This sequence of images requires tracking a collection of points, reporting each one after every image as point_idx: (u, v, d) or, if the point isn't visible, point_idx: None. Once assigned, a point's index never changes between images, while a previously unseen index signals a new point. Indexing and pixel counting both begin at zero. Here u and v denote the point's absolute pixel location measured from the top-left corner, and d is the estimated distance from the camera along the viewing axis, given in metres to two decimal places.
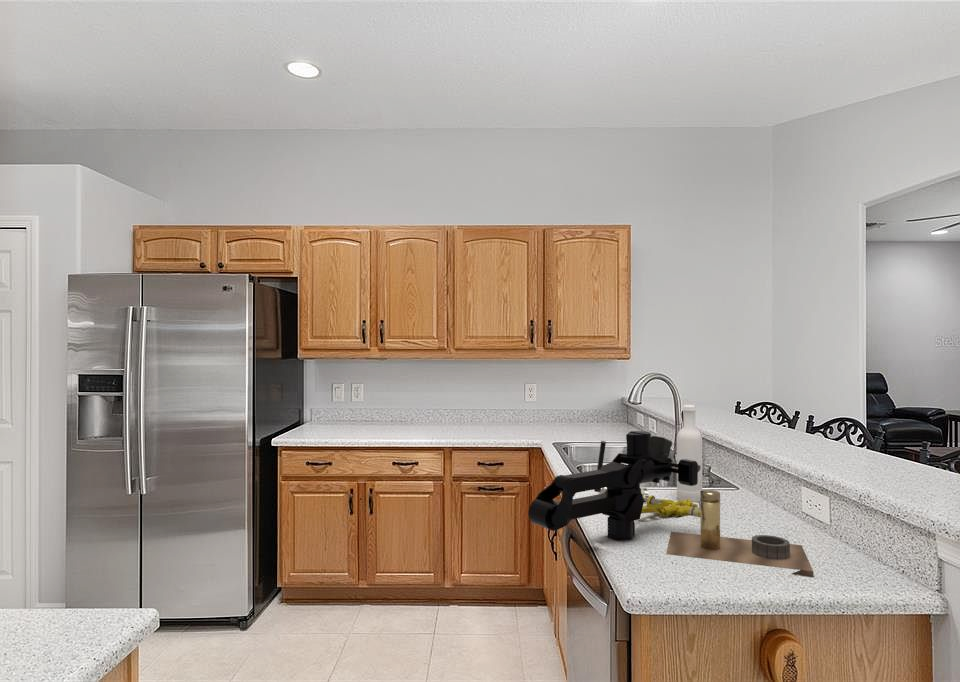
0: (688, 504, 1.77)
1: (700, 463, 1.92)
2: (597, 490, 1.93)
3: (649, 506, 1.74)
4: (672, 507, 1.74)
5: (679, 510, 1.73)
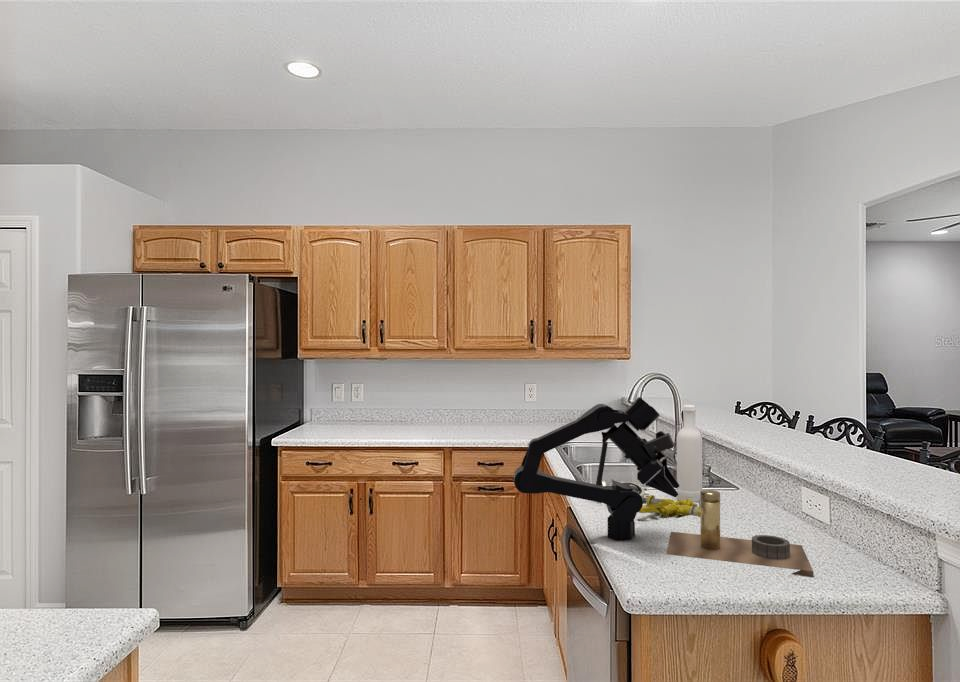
0: (688, 503, 1.78)
1: (700, 463, 1.92)
2: None
3: (649, 506, 1.74)
4: (672, 507, 1.75)
5: (679, 509, 1.73)
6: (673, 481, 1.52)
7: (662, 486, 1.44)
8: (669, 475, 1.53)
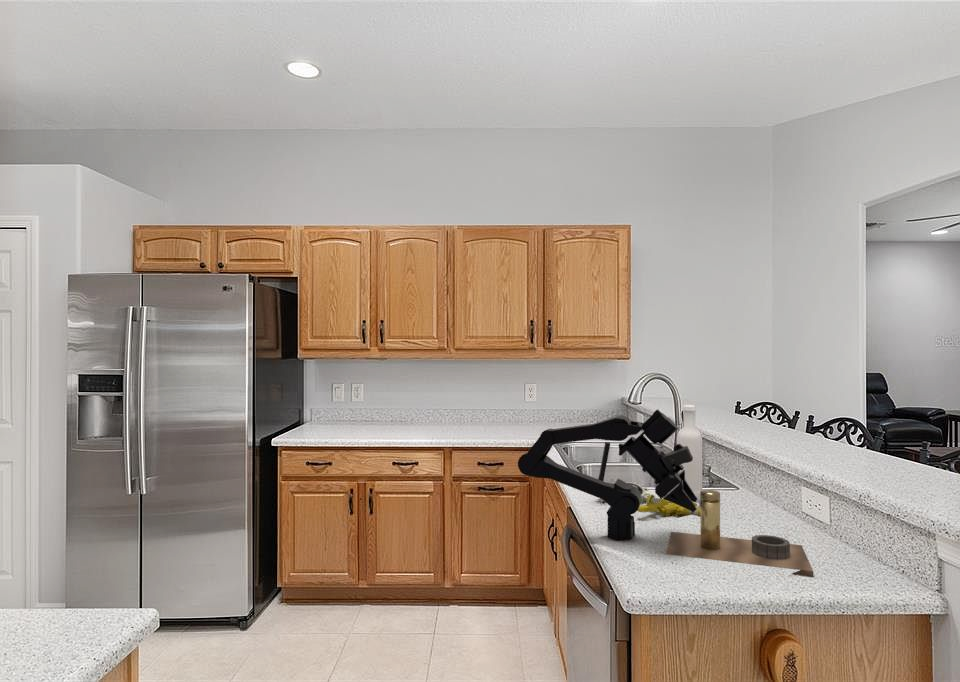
0: None
1: (700, 463, 1.92)
2: None
3: (649, 505, 1.74)
4: (672, 506, 1.76)
5: (679, 509, 1.74)
6: (691, 495, 1.51)
7: (681, 500, 1.42)
8: (687, 488, 1.51)
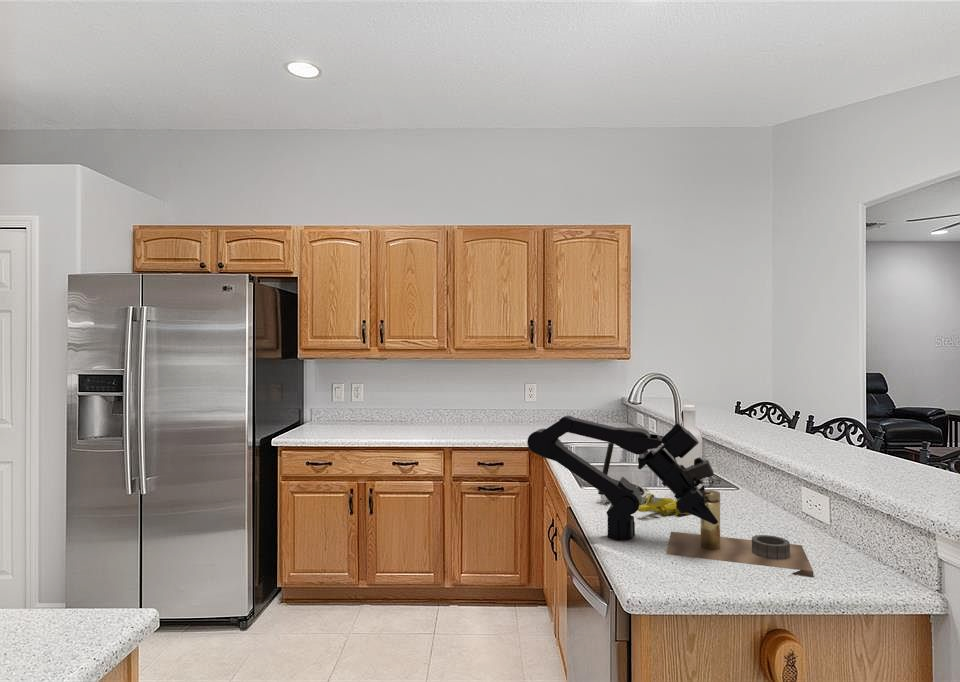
0: None
1: None
2: (602, 493, 1.89)
3: (650, 504, 1.75)
4: (672, 506, 1.76)
5: None
6: None
7: (702, 513, 1.42)
8: None
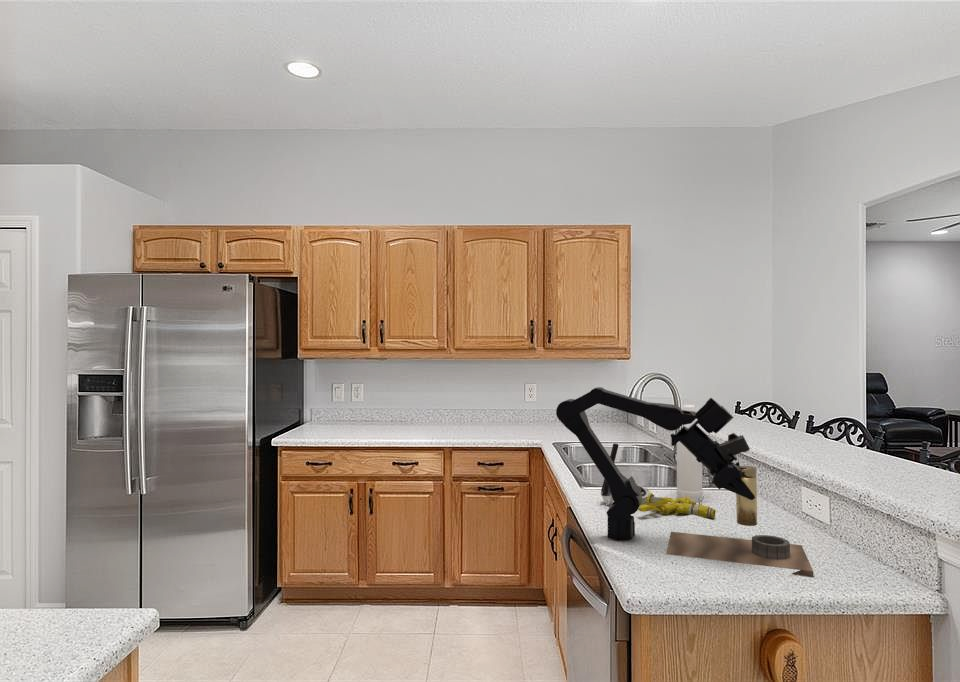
0: (687, 501, 1.80)
1: (700, 463, 1.92)
2: (605, 494, 1.87)
3: (650, 504, 1.76)
4: (672, 505, 1.77)
5: (679, 508, 1.75)
6: None
7: (739, 488, 1.39)
8: None
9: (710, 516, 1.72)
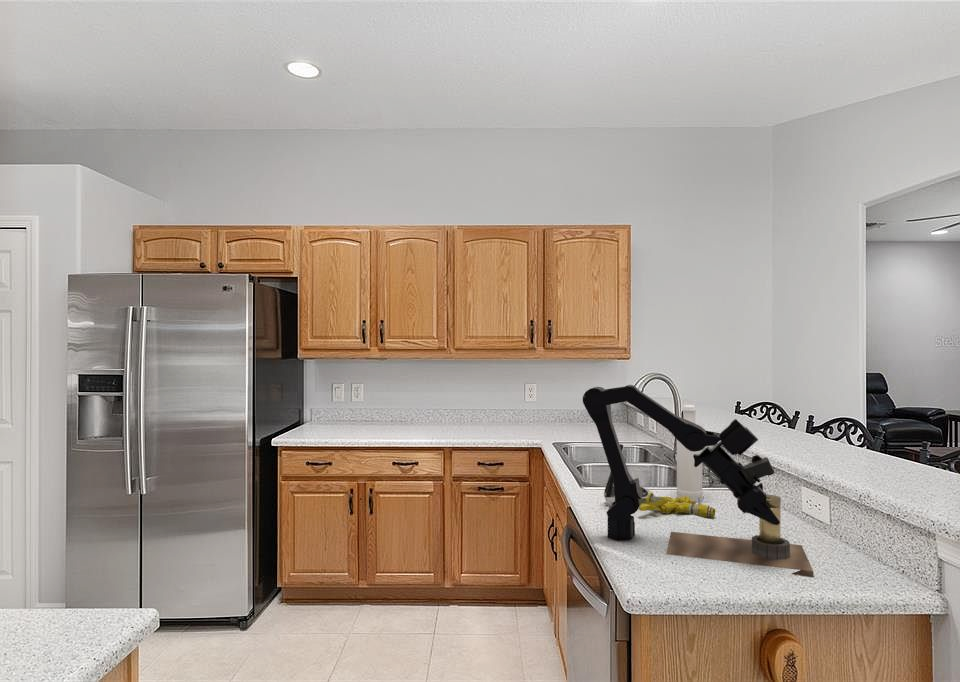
0: (686, 501, 1.81)
1: None
2: (608, 495, 1.86)
3: (650, 503, 1.76)
4: (672, 504, 1.78)
5: (679, 507, 1.76)
6: None
7: (763, 513, 1.37)
8: None
9: (710, 515, 1.72)
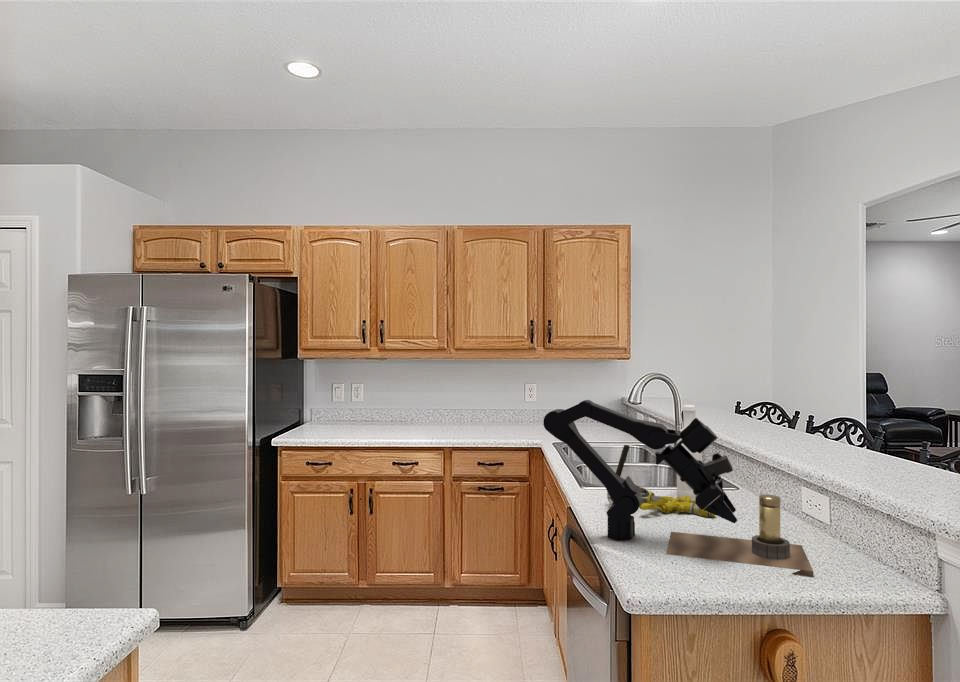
0: (687, 500, 1.82)
1: None
2: None
3: (651, 503, 1.77)
4: (673, 504, 1.78)
5: (680, 506, 1.77)
6: (729, 505, 1.47)
7: (721, 511, 1.39)
8: (725, 499, 1.48)
9: (711, 514, 1.73)
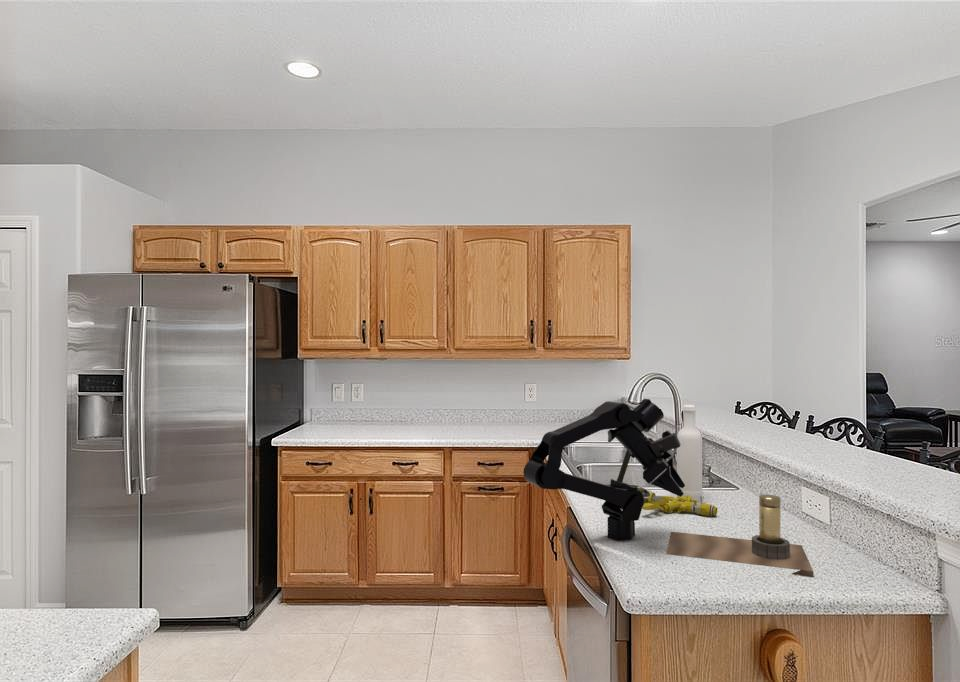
0: (688, 500, 1.82)
1: (700, 463, 1.92)
2: None
3: (653, 503, 1.77)
4: (674, 503, 1.79)
5: (681, 506, 1.77)
6: (679, 481, 1.53)
7: (668, 485, 1.44)
8: (675, 475, 1.54)
9: (712, 514, 1.74)
